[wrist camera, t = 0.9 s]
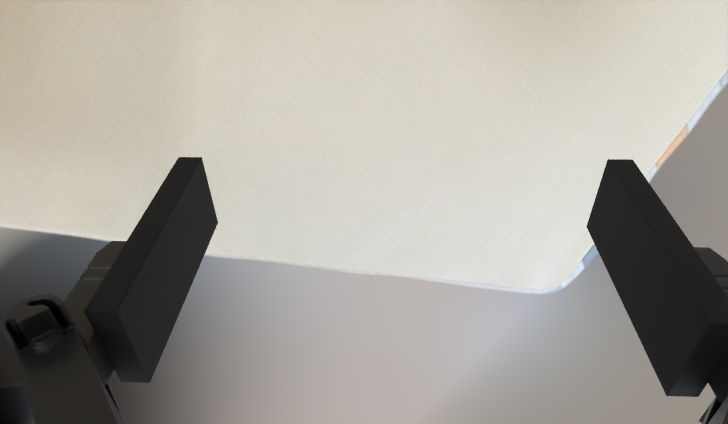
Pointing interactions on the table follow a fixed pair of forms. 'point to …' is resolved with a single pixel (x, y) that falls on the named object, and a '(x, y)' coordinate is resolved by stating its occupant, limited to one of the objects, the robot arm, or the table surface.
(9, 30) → the table surface
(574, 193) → the table surface
